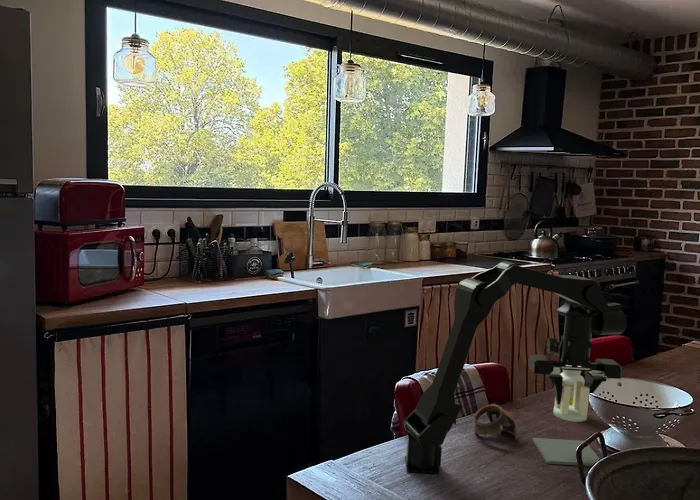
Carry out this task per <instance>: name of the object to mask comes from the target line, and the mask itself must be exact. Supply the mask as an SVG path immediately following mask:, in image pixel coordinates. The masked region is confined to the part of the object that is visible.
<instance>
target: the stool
mask: <svg viewBox="0 0 700 500" xmlns="http://www.w3.org/2000/svg"><path fill="white" fill-rule="evenodd" d="M589 390H590V388H588V387H587V386H583V382H582V381H578V380H575V384H574V395H573V405H569V402H570V392H571V387H570V386H569V385H565V381H564V380H563V381H562V394H561V402H560V404H557V402H556V398H555V397H554V406H553V413H552V414H553V415H554V416H555V417H556V418H557V419H561V420H564V421H568V422H576V423H579V422H585V421H587V419H588V410H589V401H590V399H589Z"/></svg>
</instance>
